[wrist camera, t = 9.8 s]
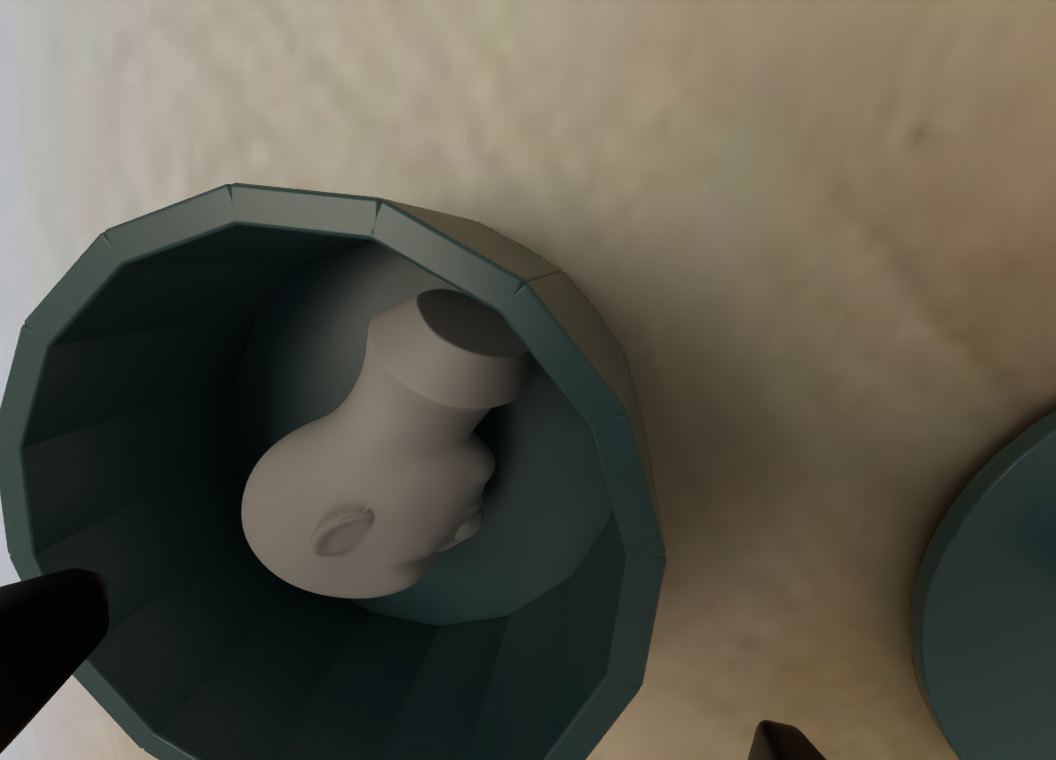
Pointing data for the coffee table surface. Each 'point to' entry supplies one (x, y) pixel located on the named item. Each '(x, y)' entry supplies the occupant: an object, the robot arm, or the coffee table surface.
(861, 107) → the coffee table surface
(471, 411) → the pale two-lobed sculpture
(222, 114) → the coffee table surface
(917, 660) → the tin lid
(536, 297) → the tin
